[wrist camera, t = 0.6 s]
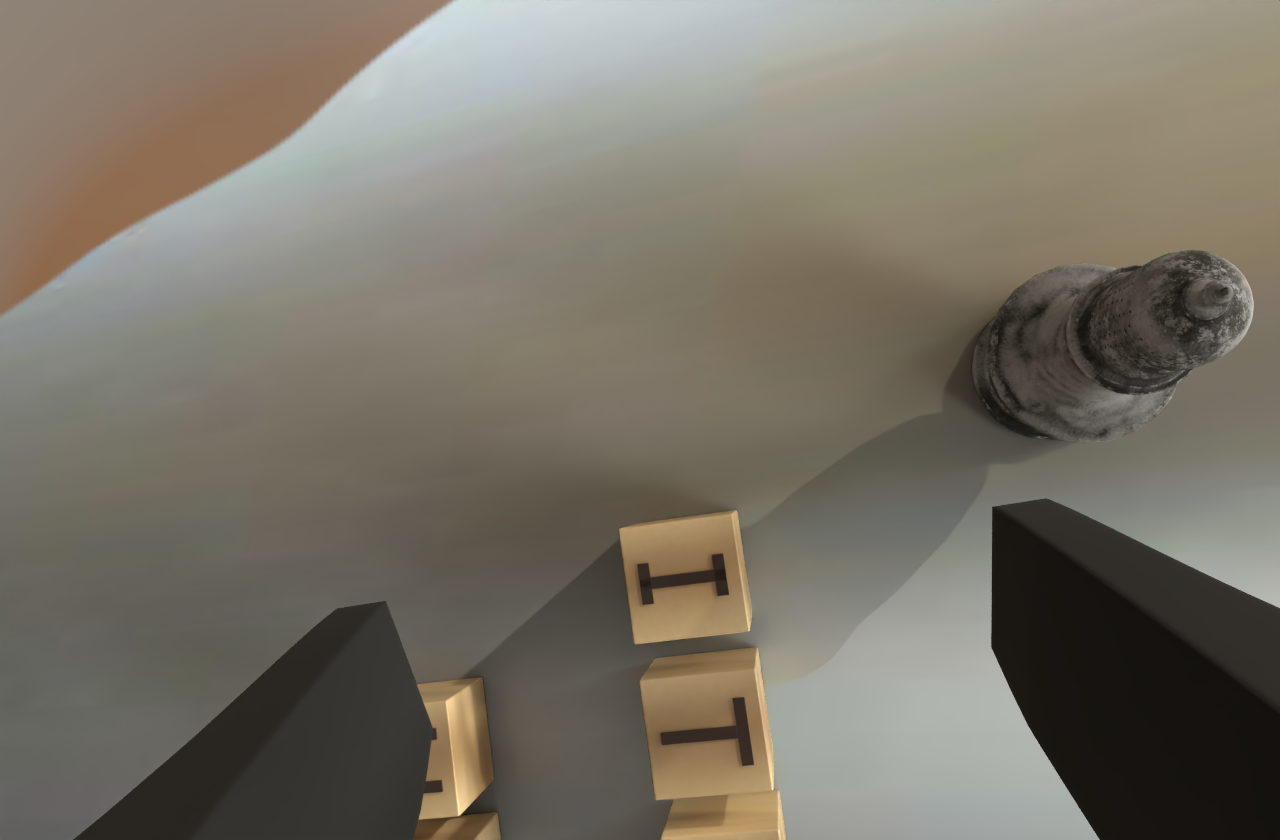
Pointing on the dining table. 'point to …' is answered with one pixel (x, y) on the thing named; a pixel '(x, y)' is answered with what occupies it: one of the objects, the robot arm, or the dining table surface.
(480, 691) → the tile
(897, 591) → the dining table surface
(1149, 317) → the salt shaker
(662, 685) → the tile
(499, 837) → the tile
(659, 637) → the tile
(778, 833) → the tile
